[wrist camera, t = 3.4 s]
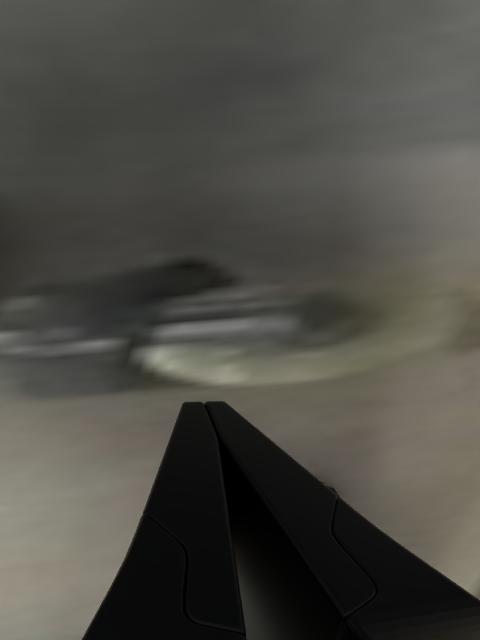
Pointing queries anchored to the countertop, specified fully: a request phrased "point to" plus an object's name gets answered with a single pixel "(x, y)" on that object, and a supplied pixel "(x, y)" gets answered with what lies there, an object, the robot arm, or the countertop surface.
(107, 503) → the countertop surface
